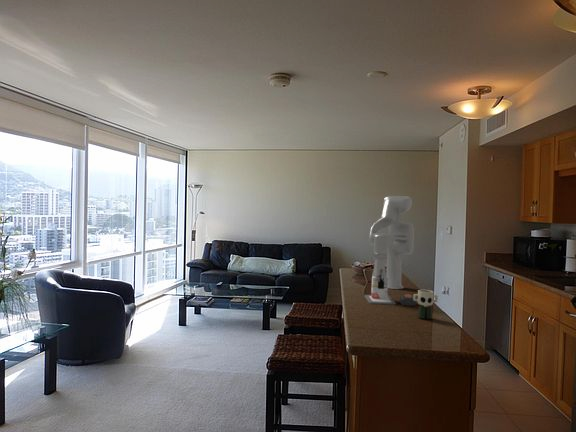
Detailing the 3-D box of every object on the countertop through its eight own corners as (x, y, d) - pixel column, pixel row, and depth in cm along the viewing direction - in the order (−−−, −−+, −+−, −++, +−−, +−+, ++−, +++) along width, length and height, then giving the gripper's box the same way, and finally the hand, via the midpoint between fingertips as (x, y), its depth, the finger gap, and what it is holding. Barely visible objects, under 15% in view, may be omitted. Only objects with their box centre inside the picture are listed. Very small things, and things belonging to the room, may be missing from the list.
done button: (403, 297, 229) (403, 294, 229) (410, 298, 229) (410, 294, 229) (405, 299, 225) (405, 295, 225) (412, 299, 225) (412, 295, 225)
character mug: (413, 319, 196) (414, 291, 195) (411, 315, 203) (412, 288, 202) (438, 321, 194) (439, 293, 193) (435, 317, 201) (436, 290, 200)
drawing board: (364, 296, 243) (364, 294, 243) (389, 297, 242) (389, 295, 242) (369, 303, 225) (369, 301, 225) (395, 304, 224) (395, 302, 224)
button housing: (399, 302, 231) (399, 295, 231) (412, 302, 231) (412, 296, 230) (402, 305, 224) (402, 298, 224) (415, 305, 224) (416, 299, 223)
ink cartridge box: (372, 298, 234) (373, 272, 233) (371, 296, 239) (371, 270, 238) (387, 299, 233) (388, 272, 233) (386, 297, 238) (387, 271, 238)
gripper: (371, 254, 244) (370, 283, 244) (376, 258, 227) (375, 289, 227) (384, 254, 244) (383, 284, 244) (390, 258, 226) (389, 290, 227)
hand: (379, 286), depth 236 cm, fingers open, 8 cm apart
